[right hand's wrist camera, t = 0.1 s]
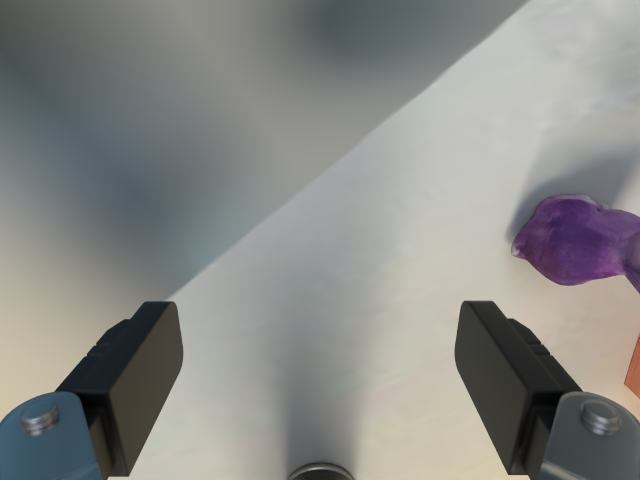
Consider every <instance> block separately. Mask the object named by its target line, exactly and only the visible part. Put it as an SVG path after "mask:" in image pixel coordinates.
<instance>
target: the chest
mask: <svg viewBox="0 0 640 480" xmlns="http://www.w3.org/2000/svg"><path fill="white" fill-rule="evenodd" d="M624 384H625V385H626V386H627V387H628V388H629V389H630V390H631V391H632V392H633V393H634V394H635V395H636V396H637V397H638V398H639V399H640V335H639V338H638V341H637V345H636V348H635V351H634V354H633V357H632V361H631V364H630V367H629V370H628V373H627V376H626V380H625V383H624Z"/></svg>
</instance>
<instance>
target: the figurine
mask: <svg viewBox="0 0 640 480" xmlns="http://www.w3.org/2000/svg"><path fill="white" fill-rule="evenodd" d="M511 253H512V255H514V256H515V257H518V258H522V259H525V260H527V261H529V262H530V263H531V264H532V266H534V267H535V269H536V270H538V271H539V272H540V273H541V274H542V275H544V276H545V277H546V278H548V279H549V280H551V281H553V282H555V283H557V284H560V285H566V286H570V285H579V284H583V283H586V282H588V281H590V280H594V279H601V278H607V277H611V276H616V275H625V276H626V277H627V279H628V280H629V281H630V282H631V284H632V285H633V286H634V287H635V288H636V290H637V291H638V292H639V293H640V217H638V216H636V215H634V214H632V213H629V212H626V211H622V210H610V209H609V206H608V204H606V203H602V202H595V201H594V200H593V199H592V198H591V197H590V196H588V195H584V194H570V195H560V196H554V197H549V198H547V199H545V200H544V201H542V202H541V203H540V204H539V206H538V207H537V209H536V211H535V214H534V215H533V216H532V218H531V219H530V221H529V222H528V223H527V224H526V225H525V226H524V228H523V229H522V230H521V231H520V233H519V234H518V235H517V236H516V238H515V239H514V241H513V244H512V248H511Z"/></svg>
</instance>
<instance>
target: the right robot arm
mask: <svg viewBox="0 0 640 480" xmlns="http://www.w3.org/2000/svg"><path fill="white" fill-rule="evenodd" d="M182 362H183V344H182V337H181V331H180V324H179V317H178V310H177V306H176V304H175V303H174V302H172V301H160V302H159V301H154V302H153V301H151V302H150V301H148V302H144V303H143V304H142V306H141V307H140V308H139V309H138V310H137V312H136V313H135V314H134V315H133V317H132V318H131V319H124V320H123V321H121V322H120V323H118V324H116V325H115V326H113V327H112V328H110V329H109V330H107V331H106V332H105V334H104V335H103V336H102V337H101V338H100V339H99V341H98V342H97V343H96V346H93V347H92V349H91V350H90V351H89V352H88V353H87V357H84V358H83V359H82V360H81V361H80V363H79V364H78V365H77V366H76V367H75V368H74V369H73V371H72V372H71V373H70V374H69V375H68V376H67V378H66V379H65V380H64V381H63V382H62V383H61V384H60V386H59V387H58V388H57V389H56V390H55V391H54V392H52V393H47V394H43V395H40V396H37V397H35V398H32V399H30V400H28V401H26V402H24V403H22V404H21V405H19V406H18V407H16V408H15V409H13V410H12V411H11V412H10V413H9V414H7V415H6V416H5V418H4V419H3V420H2V421H1V423H0V480H107V479H108V477H129V475H130V473H131V471H132V469H133V467H134V465H135V463H136V460H137V458H138V456H139V454H140V452H141V450H142V448H143V446H144V444H145V442H146V440H147V438H148V436H149V434H150V432H151V430H152V428H153V426H154V424H155V422H156V419H157V417H158V415H159V413H160V411H161V409H162V407H163V405H164V403H165V401H166V399H167V397H168V395H169V393H170V391H171V389H172V387H173V385H174V383H175V381H176V379H177V376H178V374H179V372H180V370H181V367H182ZM455 362H456V366H457V369H458V372H459V374H460V376H461V378H462V380H463V382H464V384H465V386H466V388H467V390H468V393H469V395H470V397H471V399H472V401H473V403H474V405H475V407H476V409H477V411H478V413H479V415H480V417H481V419H482V422H483V424H484V426H485V428H486V430H487V432H488V434H489V436H490V438H491V440H492V442H493V444H494V446H495V448H496V451H497V453H498V455H499V457H500V459H501V461H502V463H503V465H504V467H505V469H506V471H507V473H508V475H528V476H529V478H530V480H640V423H639V421H638V420H637V419H636V418H635V416H634V415H633V414H631V413H630V412H629V411H628V410H627V409H625V408H624V407H623V406H621V405H619V404H618V403H616V402H614V401H612V400H610V399H608V398H605V397H603V396H600V395H597V394H593V393H589V392H583V391H582V389H581V388H580V387H579V386H578V385H577V384H576V382H575V381H574V380H573V379H572V378H571V377H570V376H569V374H568V373H567V372H566V371H565V370H564V369H563V367H562V366H561V365H560V364H559V363H558V362H557V360H556V359H555V358H554V357H553V356H550V352H549V351H548V350H547V349H546V348H545V346H544V345H541V342H540V341H539V339H538V338H537V337H536V336H535V335H534V334H533V332H532V331H531V330H530V329H529V328H527V327H525V326H524V325H522V324H521V323H519V322H518V321H516V320H515V319H507V318H506V317H505V315H504V314H503V313H502V312H501V310H500V309H499V308H498V307H497V305H496V304H495V303H494V302H493V301H464V302H463V303H462V305H461V309H460V315H459V322H458V329H457V336H456V343H455ZM288 480H353V478H352V477H351V475H350V474H349V473H348V472H347V471H345V470H344V469H342V468H340V467H338V466H335V465H332V464H326V463H315V464H309V465H306V466H303V467H301V468H299V469H298V470H296V471H295V472H294V473H293V474H292V475H291V476H290V477H289V479H288Z"/></svg>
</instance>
